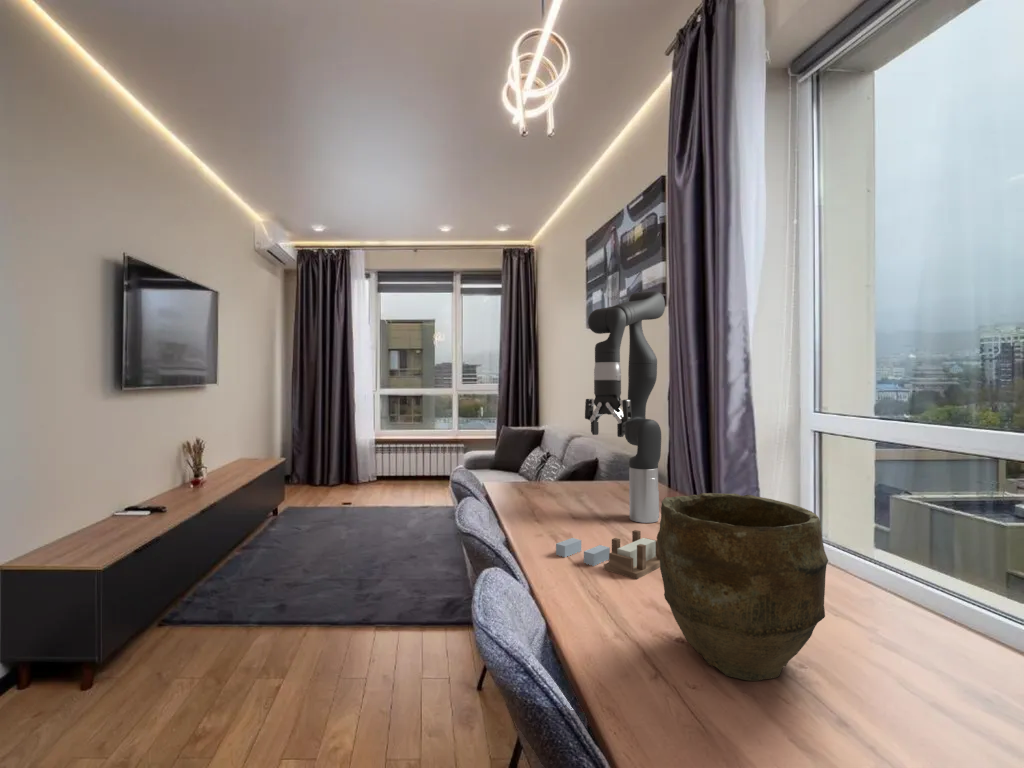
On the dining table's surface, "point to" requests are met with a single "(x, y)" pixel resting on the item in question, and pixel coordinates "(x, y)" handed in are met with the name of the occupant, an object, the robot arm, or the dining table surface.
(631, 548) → the white rectangular block
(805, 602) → the clay pot
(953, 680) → the dining table surface
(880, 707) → the dining table surface
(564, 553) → the pair of grey blocks
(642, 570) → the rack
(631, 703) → the dining table surface
